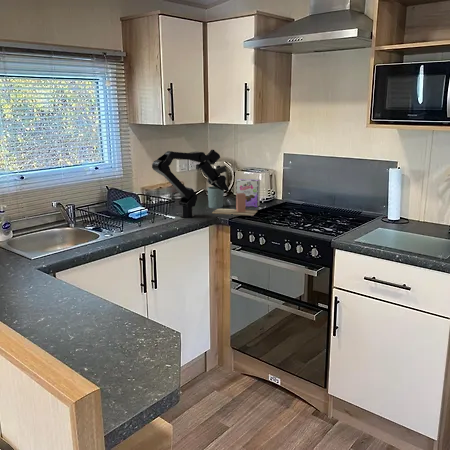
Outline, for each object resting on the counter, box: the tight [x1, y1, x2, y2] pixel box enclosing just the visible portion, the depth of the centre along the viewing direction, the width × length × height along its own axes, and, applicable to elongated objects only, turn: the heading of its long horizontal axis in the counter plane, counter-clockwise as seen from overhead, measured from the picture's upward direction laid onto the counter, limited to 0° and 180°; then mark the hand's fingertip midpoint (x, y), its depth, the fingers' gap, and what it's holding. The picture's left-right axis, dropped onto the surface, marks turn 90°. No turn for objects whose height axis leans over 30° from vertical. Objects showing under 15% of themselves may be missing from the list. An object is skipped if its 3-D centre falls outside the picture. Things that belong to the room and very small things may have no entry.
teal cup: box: [207, 186, 225, 209], centre depth 289 cm, size 10×10×12 cm
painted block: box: [235, 192, 247, 212], centre depth 274 cm, size 4×4×10 cm
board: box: [211, 208, 258, 217], centre depth 274 cm, size 12×24×1 cm, turn 75°
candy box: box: [235, 178, 261, 208], centre depth 291 cm, size 14×6×16 cm, turn 73°
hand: (225, 190), depth 271 cm, fingers open, 9 cm apart
